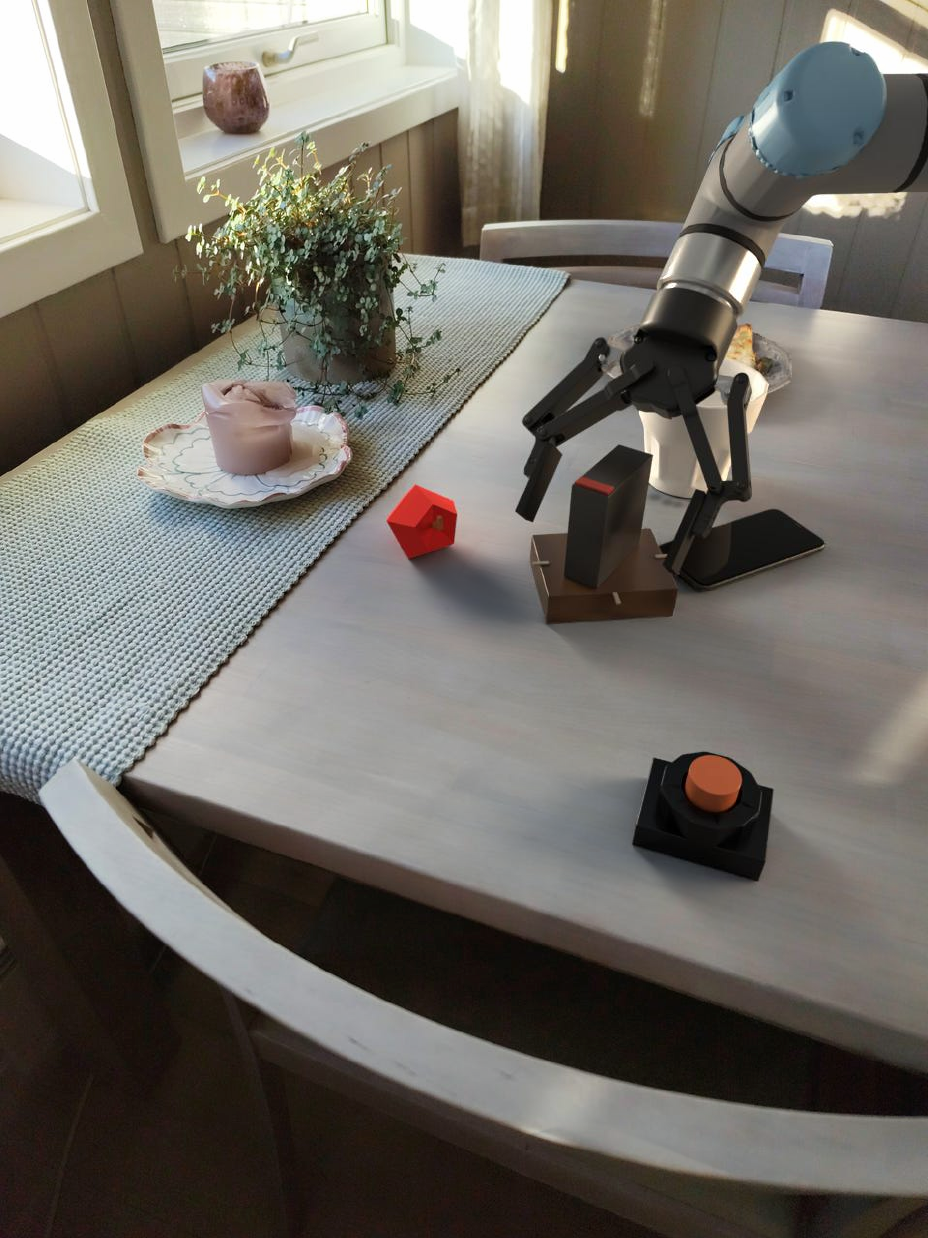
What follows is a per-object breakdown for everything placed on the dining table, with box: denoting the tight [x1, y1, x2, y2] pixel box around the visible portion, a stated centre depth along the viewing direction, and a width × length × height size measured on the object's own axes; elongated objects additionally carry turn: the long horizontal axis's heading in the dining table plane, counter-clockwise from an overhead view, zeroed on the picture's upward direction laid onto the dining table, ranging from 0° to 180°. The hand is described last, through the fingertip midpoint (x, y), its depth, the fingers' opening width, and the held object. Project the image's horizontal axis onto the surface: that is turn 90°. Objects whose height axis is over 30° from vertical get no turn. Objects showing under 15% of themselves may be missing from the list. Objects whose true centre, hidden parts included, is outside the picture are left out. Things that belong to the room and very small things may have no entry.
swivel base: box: [529, 527, 679, 625], centre depth 76 cm, size 12×12×3 cm
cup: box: [638, 358, 769, 499], centre depth 88 cm, size 12×12×11 cm
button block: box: [631, 751, 775, 882], centre depth 56 cm, size 8×6×4 cm
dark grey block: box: [564, 444, 653, 589], centre depth 72 cm, size 8×3×9 cm, turn 145°
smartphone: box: [658, 508, 827, 592], centre depth 81 cm, size 7×1×15 cm
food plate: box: [606, 323, 793, 395], centre depth 111 cm, size 25×23×4 cm
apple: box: [386, 484, 458, 560], centre depth 80 cm, size 7×7×8 cm
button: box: [685, 755, 742, 812], centre depth 54 cm, size 3×3×2 cm
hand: (593, 543), depth 72 cm, fingers open, 13 cm apart
